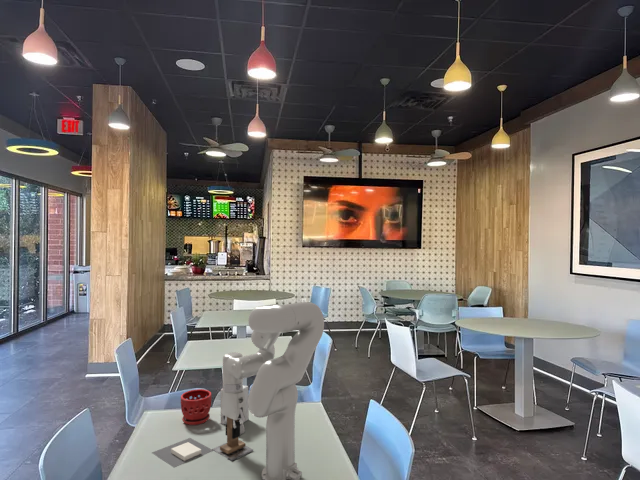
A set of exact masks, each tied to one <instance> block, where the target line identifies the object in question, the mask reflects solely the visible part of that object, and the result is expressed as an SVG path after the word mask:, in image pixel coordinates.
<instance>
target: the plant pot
mask: <svg viewBox="0 0 640 480" xmlns="http://www.w3.org/2000/svg"><path fill="white" fill-rule="evenodd" d="M190 397H191V398H190ZM212 399H213V398H212V392H211V391H209V389H202V388H201V389H191V390H187V391H185V392H183V393H182V394H181V395H180V409H181V413H182V415H183V416H182V422H183V423H184V424H186V425H189V426H197V425H202V424H204V423H206V422H208V421H209V419H210V416H211V415H210V410H211V408H212V407H211V406H212Z"/></svg>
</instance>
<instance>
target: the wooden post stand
mask: <svg viewBox="0 0 640 480" xmlns="http://www.w3.org/2000/svg"><path fill="white" fill-rule="evenodd" d="M237 422H238V420H237V421H236V423H237ZM232 428H233V419H231V418H229V417H227V435H226V443H227V444H225V443H224V444H225V445H223V444H222V445H223V446H220V445H219V446H220V450H221V451H223V452H225V453H227V454H230V453H232V452H234V451H236V450H238V449H241V448H243V447H245V446H246V442H245V441H242V440H240V439H239V437H237V438H235V439H233V438H232Z"/></svg>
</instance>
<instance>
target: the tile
mask: <svg viewBox="0 0 640 480" xmlns="http://www.w3.org/2000/svg"><path fill="white" fill-rule="evenodd" d="M171 453H172V454H174V455H175V456H177V457H179V458H180V459H182V460H184V461H185V460H188V459H190V458H192V457H195V456H197V455H199V454H201V449H200V448H198V447H196V446H194V445H192V444H191V443H189V442H187V443H184V444H182V445H179V446H177V447H174V448H172V449H171Z"/></svg>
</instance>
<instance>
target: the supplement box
mask: <svg viewBox="0 0 640 480" xmlns="http://www.w3.org/2000/svg"><path fill="white" fill-rule="evenodd" d="M222 391H223V388H221V389H220V399H221V398H222ZM243 391H244V394H245V400H246V417H244V418H245V422H247V421H248V420H249V412H250V410H249V407H248V396H249V386H248V385H244V384H243ZM220 424H223V425H226V424H225V420H224V418H223V416H222V414H221V413H220Z"/></svg>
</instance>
